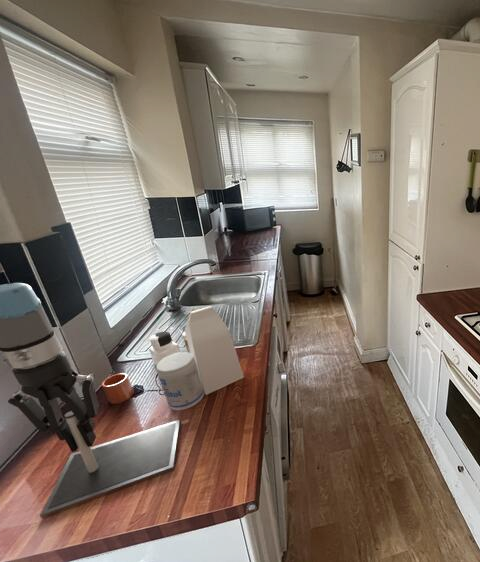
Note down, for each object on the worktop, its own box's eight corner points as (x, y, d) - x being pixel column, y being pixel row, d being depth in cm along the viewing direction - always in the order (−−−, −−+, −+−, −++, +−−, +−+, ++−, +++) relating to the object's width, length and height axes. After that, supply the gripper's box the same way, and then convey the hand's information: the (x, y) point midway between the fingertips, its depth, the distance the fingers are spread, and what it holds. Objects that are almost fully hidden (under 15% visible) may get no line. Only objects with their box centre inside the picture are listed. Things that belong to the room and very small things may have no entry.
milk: (205, 395, 96) (183, 323, 86) (196, 377, 104) (175, 309, 94) (244, 377, 104) (227, 309, 94) (232, 362, 112) (216, 297, 102)
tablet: (41, 518, 64) (39, 515, 64) (72, 456, 77) (70, 453, 77) (174, 470, 73) (173, 466, 73) (181, 422, 87) (180, 418, 86)
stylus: (87, 473, 72) (62, 417, 66) (89, 467, 73) (66, 412, 67) (96, 471, 72) (73, 415, 66) (99, 464, 74) (76, 409, 68)
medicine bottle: (175, 354, 117) (166, 327, 113) (183, 360, 113) (174, 333, 109) (154, 364, 112) (143, 336, 107) (162, 371, 108) (152, 342, 103)
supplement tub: (162, 412, 90) (146, 372, 84) (180, 390, 99) (167, 352, 93) (195, 411, 90) (182, 370, 85) (210, 388, 99) (199, 350, 93)
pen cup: (107, 407, 93) (98, 389, 90) (113, 394, 98) (105, 376, 95) (132, 400, 95) (124, 382, 92) (136, 388, 100) (129, 370, 98)
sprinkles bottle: (196, 360, 114) (186, 328, 108) (208, 359, 113) (199, 328, 108) (189, 367, 109) (178, 335, 104) (201, 367, 109) (191, 335, 104)
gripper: (-28, 382, 55) (31, 472, 64) (79, 358, 61) (120, 444, 70) (-3, 359, 61) (48, 444, 70) (92, 340, 67) (128, 420, 76)
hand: (84, 444), depth 70 cm, fingers closed on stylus, 2 cm apart
